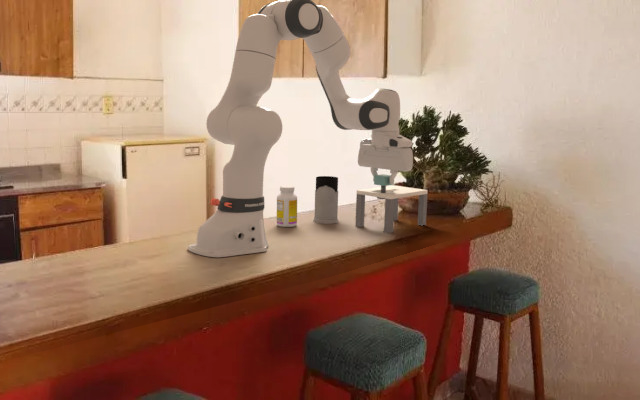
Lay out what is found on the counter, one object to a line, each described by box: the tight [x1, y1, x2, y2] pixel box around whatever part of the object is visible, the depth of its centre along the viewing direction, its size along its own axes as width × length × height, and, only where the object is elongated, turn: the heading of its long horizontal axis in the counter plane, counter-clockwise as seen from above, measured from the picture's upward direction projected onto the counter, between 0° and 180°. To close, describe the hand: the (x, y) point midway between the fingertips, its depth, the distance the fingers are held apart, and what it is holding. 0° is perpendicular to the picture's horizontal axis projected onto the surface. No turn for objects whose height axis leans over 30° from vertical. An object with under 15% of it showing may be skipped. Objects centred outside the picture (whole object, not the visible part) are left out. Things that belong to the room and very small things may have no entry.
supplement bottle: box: [276, 185, 298, 228], centre depth 215 cm, size 7×7×13 cm
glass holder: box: [312, 175, 339, 225], centre depth 227 cm, size 9×14×15 cm, turn 173°
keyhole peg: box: [373, 173, 394, 200], centre depth 215 cm, size 4×4×8 cm
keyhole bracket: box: [354, 184, 428, 234], centre depth 220 cm, size 20×14×12 cm
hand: (383, 182), depth 215 cm, fingers closed on keyhole peg, 4 cm apart
